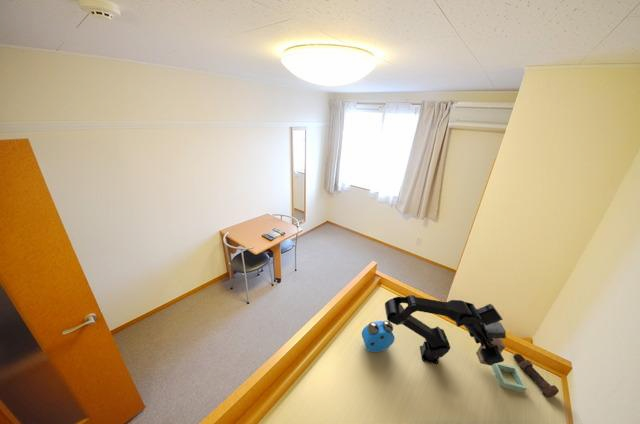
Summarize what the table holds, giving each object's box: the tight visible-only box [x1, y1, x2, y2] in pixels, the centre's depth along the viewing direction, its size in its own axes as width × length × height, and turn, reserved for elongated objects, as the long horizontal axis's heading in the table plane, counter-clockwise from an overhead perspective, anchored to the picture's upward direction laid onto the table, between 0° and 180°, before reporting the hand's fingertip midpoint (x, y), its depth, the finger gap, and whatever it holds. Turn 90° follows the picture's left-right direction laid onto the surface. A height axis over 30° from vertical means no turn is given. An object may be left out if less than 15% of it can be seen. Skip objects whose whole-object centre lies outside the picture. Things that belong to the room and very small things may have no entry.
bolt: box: [513, 352, 560, 399], centre depth 92 cm, size 6×5×15 cm
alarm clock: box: [361, 320, 395, 353], centre depth 98 cm, size 13×6×15 cm, turn 100°
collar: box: [491, 362, 528, 393], centre depth 91 cm, size 8×8×3 cm
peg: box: [475, 338, 506, 367], centre depth 91 cm, size 4×4×13 cm
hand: (493, 350), depth 91 cm, fingers closed on peg, 4 cm apart
